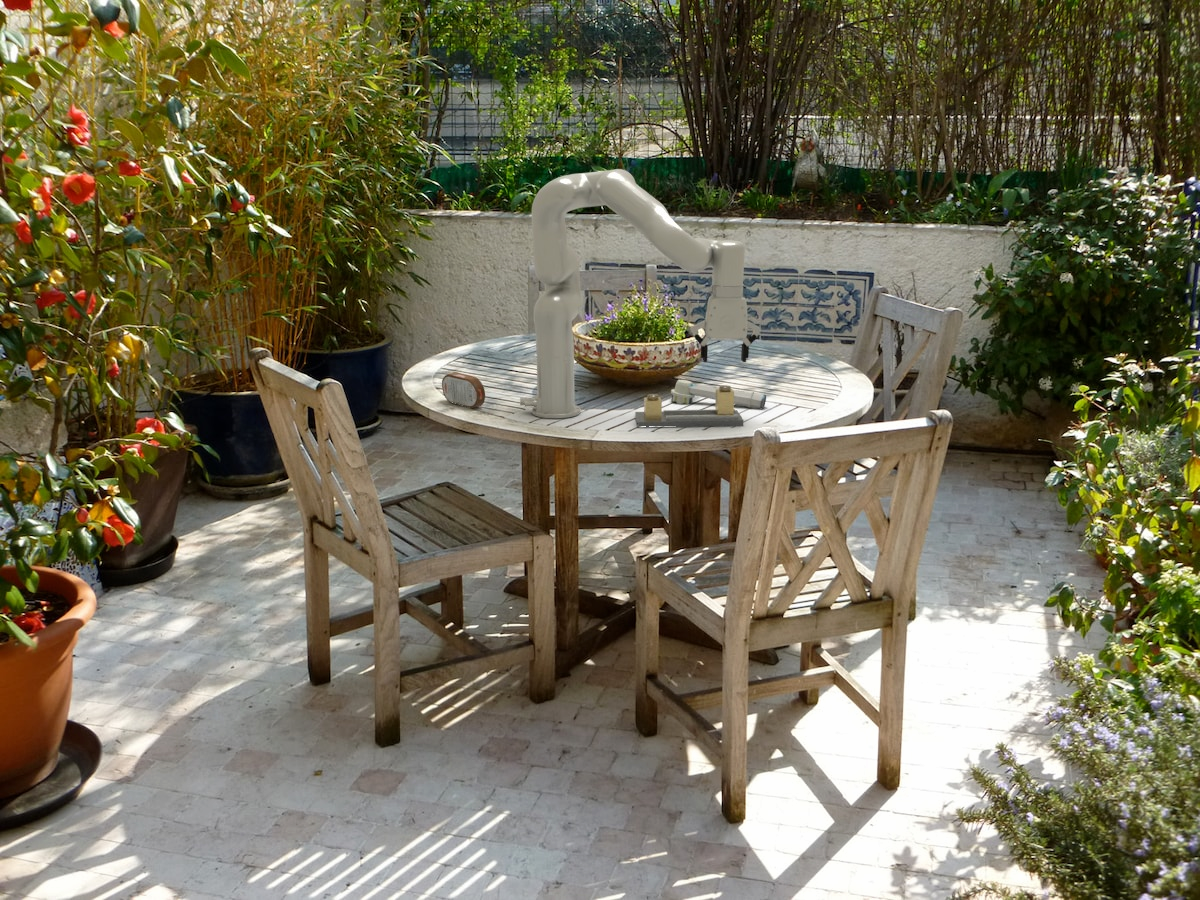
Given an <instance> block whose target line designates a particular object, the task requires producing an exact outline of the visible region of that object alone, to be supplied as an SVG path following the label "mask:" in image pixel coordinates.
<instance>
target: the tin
mask: <svg viewBox="0 0 1200 900" xmlns="http://www.w3.org/2000/svg"><path fill="white" fill-rule="evenodd" d="M441 390H442V394H443V396H444V398H445V399H446V400H447V402H448V403H450V402H453V403H456V404H460V405H463V406H462V407H464V406H466V407H465V408H467V407H470V408H469V409H476V408H478V406H480V407H482V406H483V404H484V403H485V401H486V391H485V387H484V384H483V383H482V381H481V380H480V379H479V378H477V377H476V376H473V375H470V374H465V373H462V372H457V371H453V372H450V373H448V374H445V375H444V376H443V378H442V380H441ZM456 404H455V405H456ZM460 405H459V406H460Z"/></svg>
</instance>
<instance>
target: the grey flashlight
mask: <svg viewBox="0 0 1200 900" xmlns="http://www.w3.org/2000/svg"><path fill="white" fill-rule="evenodd" d="M716 389H719V386H714V385H713V386H711V385H706V384H705V385H704V384H700V383H699V384H697V383H692V381H690V380H686V379H678V380H677V381H676V383H675V386H674V388H672V389H671V390H670V394H671V398H670V399H671V401H672V403H674V402H676V404H679V405H683V404H686V405H689V404H690V405H691V404H692V403H693V400H694V398H695V396H696V397H701V398H704V399H711V400H715V401H716ZM731 389H732V388H731ZM732 390H733V391H734V405H738V406H743V407H746V408H748V409H751V408H752V409H756V408H762V409H761V410H763V409H764V408H765V405H766V403H767V402H766V401H767V395H766V394H762V393H757V392H755V391H754V390H753V391H746V390H740V389H739V390H737V389H732ZM763 407H764V408H763Z"/></svg>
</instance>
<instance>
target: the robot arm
mask: <svg viewBox="0 0 1200 900" xmlns="http://www.w3.org/2000/svg"><path fill="white" fill-rule="evenodd" d="M601 206H607V207H608V208H609V209H610V210H611V211H613V213H615V214H617V215H618V216H619V217H620V218H622V220H625V221H626V222H627V223H628V224H629V225H631V226H632V227H633V228H634V229H636V230H637V231H638V232H640V234H642V235H643V237H644V238H645V239H646V240H647V241H648V242H649V243H651V244H652V246H654V247H655V248H656V249H657V250H658V251H659V252H660V253H662V254H663V255H664V256H665V258H668V259H669V260H670V261H671V262H673V264H675V265H676V266H677V267H679V268H681V269H682V270H683V271H685V272H687V273H690V274H691V273H692V274H697V273H701V272H703V271H704V270H705V269H707V268H712V274H711V275H712V276H711V277H712V278H711V285H710V286H706V287H705V293H708V294H710V296H709V297H708V300H707V304H706V311H705V318H704V320H702V321H700V322H698V323H696V324H694V325H692V326H690V328H689V330H690V331H691V333H692V335H693V338H694V339H695V340H696V341H697V343H698V344H699V345H700V354H699V355H700V359H702V361H703V363H707V362H708V353H709V352H708V349H709V348H708V344H707V343H709V342H710V340H741V341H742V342H743V343H742V344H741V353H740V355H741V357H740V359H741V361H742V363H747V359H749V356H750V355H749V354H750V353H749V352H750V351H749V350H750V346H751V345H752V344H753V343H754V341H756V340H757V338H758V336H759V335H760V332H761V331H762V328H761V327H760V326H758V325H756V324H754V323H753V322H750V321H749V320H748V304H747V299H746V297H743V296H744V295H743V293H744V292H743V291H744V272H745V254H746V253H745V251H746V249H745V244H744V243H743V242H742V241H739V240H734V239H733V240H731V239H723V240H716V239H711V238H704V237H696V238H695V237H693V236H692V235H690V234H689V233H687V232H686V231H685V230H684V229H683V228H682V227H680V226H679V225H678V223H676V222H675V221H674V220H673V218H672V217H671V215H670V214H669V212H668V210H667V209H666V207H665V206H664V205H663V204H662V203H661V202H660V201H659V200H658V199H657V198H655V197H654V196H652V195H651V194H649V192H648V191H646V190H645V189H644V188H642V187H641V186H639V185H638V184H637V183H636V180H635V178H634V176H633V175H632V174H631V173H630V172H629V171H627V170H625V169H621V168H616V169H610V170H609V169H608V170H601V171H592V172H582V173H571V174H566V175H563V176H562V175H561V176H559V177H557V178H554V179H552V180H551V181H549V182H547V183H546V184H545V185H544V186H542V187H541V188H540V189H539V190H538V192H537V193H536V195H535V197H534V199H533V202H532V205H531V227H532V229H531V230H532V249H533V250H532V251H533V267H534V268H533V269H534V274H535V277H536V279H537V280H538V281H539V282H540V283H541V284H544V285H543V287H544V293H543V294H542V295H540V296H539V298H537V300H536V302H535V304H534V307H533V322H534V323H533V324H534V332H535V345H536V346H535V347H536V348H535V349H536V386H537V387H536V390H537V393H536V394H535V396H532V397H520V398H519V405H520V406H524V407H532V408H531V414H532V415H533V416H536V417H538V418H545V419H567V418H572V417H576V416H579V414H581V411H582V409H581V407H580V406H579V405H576V404H575V351H574V350H575V344H574V343H575V342H574V332H573V320H575V319H576V317H577V316H578V315H579V313H580V310H581V308H582V307H581V306H582V292H581V277H580V276H581V274H580V263H579V258H578V256H577V253H576V251H574V249H573V248H571V246H569V245H568V233H567V232H568V231H567V225H566V220H565V219H566V215H567V213H568V212H570V211H573V210H578V209H580V208H582V209H583V208H591V207H601ZM703 328H704V335H703V336H702V337H701V336H700V335H699V332H698V331H699V330H701V329H703ZM748 328H749V329H751V330H753V331H752V334H751V335H749V336H748ZM747 336H748V337H747Z"/></svg>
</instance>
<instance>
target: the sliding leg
mask: <svg viewBox="0 0 1200 900" xmlns="http://www.w3.org/2000/svg"><path fill="white" fill-rule="evenodd" d="M718 387H719V389H716V400H715V408H714V409H715V412H716V414H717V415H733V414H734V409H735V404H734V391H733V390H734V389H733V390H732V388H731V385H728V384H727V385H719V386H718Z"/></svg>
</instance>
